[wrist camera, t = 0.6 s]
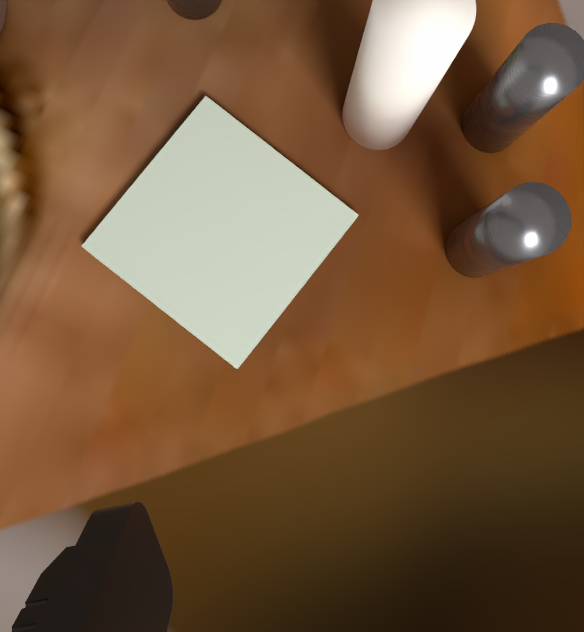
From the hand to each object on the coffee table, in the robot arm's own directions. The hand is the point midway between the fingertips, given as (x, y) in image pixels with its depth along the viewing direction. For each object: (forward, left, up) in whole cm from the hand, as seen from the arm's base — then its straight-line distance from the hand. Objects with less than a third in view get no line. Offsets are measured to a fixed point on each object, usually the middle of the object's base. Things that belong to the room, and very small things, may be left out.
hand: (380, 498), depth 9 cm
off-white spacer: (-7, +16, -24) cm, 30 cm away
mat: (-10, +4, -24) cm, 27 cm away
